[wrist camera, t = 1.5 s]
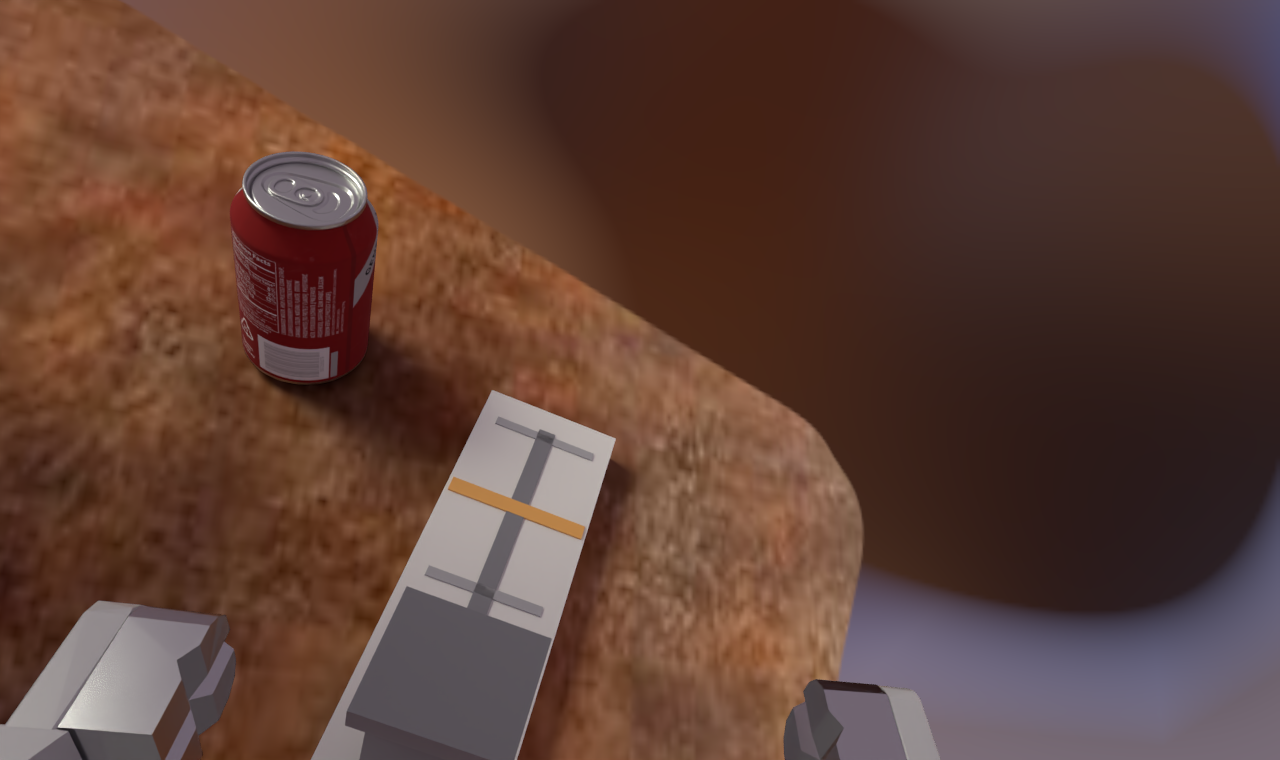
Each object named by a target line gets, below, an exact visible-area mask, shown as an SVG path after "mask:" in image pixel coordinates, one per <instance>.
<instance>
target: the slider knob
mask: <svg viewBox="0 0 1280 760" xmlns="http://www.w3.org/2000/svg"><path fill="white" fill-rule="evenodd" d="M551 640H552V639H551V638H549V637H546V636H543V635H540V634H538V633H535V632H532V631H529V630H527V629H524V628H521V627H518V626H516V625H513V624H510V623H507V622H504V621H502V620H499V619H496V618H493V617H491V616H488V615H485V614H482V613H480V612H477V611H474V610H471V609H469V608H466V607H463V606H460V605H458V604H455V603H452V602H449V601H446V600H444V599H441V598H438V597H435V596H433V595H430V594H427V593H424V592H422V591H419V590H416V589H413V588H411V587H408V586H406V588H405V591H404V593H403V595H402V597H401V599H400V601H399V603H398V605H397V607H396V609H395V611H394V613H393V616H392V618H391V620H390V622H389V624H388V626H387V628H386V630H385V632H384V634H383V636H382V638H381V641H380V643H379V645H378V647H377V649H376V651H375V653H374V655H373V657H372V659H371V661H370V663H369V666H368V668H367V670H366V672H365V674H364V676H363V678H362V680H361V682H360V684H359V686H358V688H357V691H356V693H355V695H354V697H353V699H352V701H351V703H350V705H349V707H348V709H347V713H346V721H345V726H348V727H351V728H354V729H357V730H359V731H362V732H365V734H364V739H363V744H362V749H361V754H360V759H359V760H514V759H515V756H516V753H517V750H518V746H519V743H520V740H521V737H522V733H523V730H524V727H525V724H526V721H527V717H528V714H529V711H530V708H531V704H532V701H533V698H534V695H535V691H536V688H537V685H538V682H539V679H540V675H541V672H542V669H543V666H544V662H545V659H546V656H547V653H548V650H549V646H550V643H551Z"/></svg>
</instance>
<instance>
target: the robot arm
mask: <svg viewBox="0 0 1280 760" xmlns="http://www.w3.org/2000/svg"><path fill="white" fill-rule="evenodd" d="M229 631H230V628H229V625H228V621H227V617H226V615H221V614H212V613H203V612H194V611H184V610H175V609H166V608H157V607H148V606H144V605H137V604H127V603H117V602H107V601H97V602H96V603H95V604H94V605H92V606H91V607H90V608H89V609H88V610H87V611H85V612H84V613H83V614H82V616H81V617H80V619H79V620H78V621H77V623H76V624H75V626H74V627H73V629H72V630H71V631H70V633H69V634H68V636H67V637H66V639H65V640H64V641H63V643H62V644H61V646H60V647H59V649H58V650H57V651H56V653H55V654H54V656H53V657H52V658H51V660H50V661H49V663H48V664H47V666H46V667H45V668H44V670H43V671H42V673H41V674H40V676H39V677H38V678H37V680H36V681H35V683H34V684H33V686H32V687H31V688H30V690H29V691H28V693H27V694H26V696H25V697H24V698H23V700H22V701H21V703H20V704H19V705H18V707H17V708H16V710H15V711H14V713H13V714H12V715H11V717H10V718H9V720H8V721H7V723H6V724H0V760H201V757H202V755H203V752H202V748H201V744H200V740H199V735H200V734H201V733H203V732H204V731H205V730H206V729H208V728H209V727H210V726H212V725H213V724H214V723H216V722H217V721H218V720H219V718H220V716H221V714H222V712H223V709H224V707H225V705H226V703H227V700H228V698H229V694H230V691H231V687H232V684H233V680H234V677H235V666H236V658H235V652H234V649H233V648H232V647H230V646H229V645H228V644H227V643H225V642H224V641H225V639H226V637H227V635H228V633H229ZM803 692H804V697H805V702H804V703H802V704H800V705H797V706H795V707H793V709H792V711H791V713H790V715H789V717H788V718H787V720H786V726H785V733H784V757H785V760H941V758H940V755H939V752H938V750H937V747H936V744H935V741H934V738H933V735H932V732H931V729H930V726H929V723H928V721H927V717H926V715H925V712H924V709H923V706H922V703H921V700H920V698H919V697H918V696H917V694H916V693H915V692H914V691H912V690H910V689H907V688H897V687H887V686H878V685H874V684H862V683H850V682H840V681H829V680H818V679H816V680H813V681H810V682H809V683H808V685H807V686H806V688H805V690H804V691H803Z"/></svg>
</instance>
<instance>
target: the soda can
mask: <svg viewBox="0 0 1280 760" xmlns="http://www.w3.org/2000/svg"><path fill="white" fill-rule="evenodd" d="M230 221H231V231H232V241H233V251H234V261H235V271H236V281H237V291H238V301H239V311H240V321H241V331H242V341H243V347H244V351H245V353H246V355H247V357H248V358H249V360H250V361H251V362H252V364H253V365H254V366H255V367H256V368H257V369H259V370H260V371H261V372H263V373H265V374H266V375H268V376H270V377H272V378H274V379H277V380H280V381H283V382H287V383H292V384H300V385H314V384H322V383H327V382H330V381H334V380H336V379H339V378H341V377H343V376H345V375H347V374H348V373H350V372H351V371H353V370H354V369H355V368H356V367H357V366H358V365H359V364H360V362H361V361H362V360H363V358H364V356H365V354H366V351H367V347H368V336H369V325H370V314H371V302H372V291H373V280H374V269H375V257H376V246H377V235H378V219H377V215H376V212H375V210H374V208H373V206H372V204H371V203H370V202H369V200H368V199H367V189H366V186H365V184H364V182H363V180H362V179H361V178H360V177H359V175H358V174H357V173H356V172H355V171H353V170H352V169H351V168H349V167H348V166H346V165H345V164H343V163H341V162H339V161H337V160H335V159H332V158H329V157H326V156H323V155H319V154H314V153H307V152H283V153H276V154H272V155H269V156H266V157H263V158H261V159H259V160H257V161H256V162H254V163H253V164H252V165H251V166H250V167H249V168H248V169H247V170H246V172H245V174H244V177H243V182H242V188H241V189H240V190H239V191H238V192H237V194H236V195H235V197H234V199H233V201H232V204H231V207H230Z"/></svg>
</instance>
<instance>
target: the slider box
mask: <svg viewBox="0 0 1280 760" xmlns="http://www.w3.org/2000/svg"><path fill="white" fill-rule="evenodd" d="M615 440H616V438H613V437H610V436H608V435H605V434H603V433H600V432H598V431H595V430H593V429H590V428H588V427H585V426H583V425H580V424H577V423H575V422H572V421H570V420H567V419H565V418H562V417H560V416H557V415H555V414H552V413H550V412H547V411H544V410H542V409H539V408H537V407H534V406H532V405H529V404H527V403H524V402H522V401H519V400H517V399H514V398H511V397H509V396H506V395H504V394H501V393H499V392H496V391H494V390H492V392H491V394H490V396H489V398H488V400H487V402H486V404H485V406H484V408H483V410H482V412H481V414H480V416H479V418H478V420H477V422H476V424H475V426H474V428H473V430H472V432H471V434H470V436H469V438H468V440H467V443H466V445H465V447H464V449H463V451H462V453H461V455H460V457H459V459H458V461H457V463H456V465H455V467H454V469H453V471H452V473H451V475H450V477H449V479H448V481H447V483H446V485H445V487H444V489H443V491H442V493H441V495H440V498H439V500H438V502H437V504H436V506H435V508H434V510H433V512H432V514H431V516H430V518H429V520H428V522H427V524H426V526H425V528H424V530H423V532H422V534H421V536H420V538H419V540H418V542H417V544H416V546H415V548H414V551H413V553H412V555H411V557H410V559H409V561H408V563H407V565H406V567H405V569H404V571H403V573H402V575H401V577H400V579H399V581H398V583H397V585H396V587H395V589H394V591H393V593H392V595H391V597H390V599H389V601H388V603H387V606H386V608H385V610H384V612H383V614H382V616H381V618H380V620H379V622H378V624H377V626H376V628H375V630H374V632H373V634H372V636H371V638H370V640H369V642H368V644H367V646H366V648H365V650H364V652H363V654H362V656H361V658H360V661H359V663H358V665H357V667H356V669H355V671H354V673H353V675H352V677H351V679H350V681H349V683H348V685H347V687H346V689H345V691H344V693H343V695H342V697H341V699H340V701H339V703H338V705H337V707H336V709H335V711H334V714H333V716H332V718H331V720H330V722H329V724H328V726H327V728H326V730H325V732H324V734H323V736H322V738H321V740H320V742H319V744H318V746H317V748H316V750H315V752H314V754H313V756H312V758H311V760H359V759H360V754H361V749H362V744H363V739H364V734H365V732H362V731H359V730H357V729H354V728H351V727H348V726H345V721H346V713H347V709H348V707H349V705H350V703H351V701H352V699H353V697H354V695H355V693H356V691H357V688H358V686H359V684H360V682H361V680H362V678H363V676H364V674H365V672H366V670H367V668H368V666H369V663H370V661H371V659H372V657H373V655H374V653H375V651H376V649H377V647H378V645H379V643H380V641H381V638H382V636H383V634H384V632H385V630H386V628H387V626H388V624H389V622H390V620H391V618H392V616H393V613H394V611H395V609H396V607H397V605H398V603H399V601H400V599H401V597H402V595H403V593H404V591H405V588H406V586H408V587H411V588H413V589H416V590H419V591H422V592H424V593H427V594H430V595H433V596H435V597H438V598H441V599H444V600H446V601H449V602H452V603H455V604H458V605H460V606H463V607H466V608H469V609H471V610H474V611H477V612H480V613H482V614H485V615H488V616H491V617H493V618H496V619H499V620H502V621H504V622H507V623H510V624H513V625H516V626H518V627H521V628H524V629H527V630H529V631H532V632H535V633H538V634H540V635H543V636H546V637H549V638H551V639H552V640H551V643H550V646H549V650H548V653H547V656H546V659H545V662H544V666H543V669H542V672H541V675H540V679H539V682H538V685H537V688H536V691H535V695H534V698H533V701H532V704H531V708H530V711H529V714H528V717H527V721H526V724H525V727H524V730H523V733H522V737H521V740H520V743H519V746H518V750H517V753H516V756H515V759H514V760H517V758H518V755H519V752H520V748H521V745H522V742H523V739H524V735H525V732H526V729H527V726H528V722H529V719H530V716H531V713H532V709H533V706H534V703H535V700H536V696H537V693H538V690H539V687H540V683H541V680H542V677H543V674H544V670H545V667H546V664H547V661H548V657H549V654H550V651H551V648H552V644H553V641H554V638H555V635H556V631H557V628H558V625H559V622H560V618H561V615H562V612H563V609H564V605H565V602H566V599H567V596H568V592H569V589H570V586H571V583H572V579H573V576H574V573H575V570H576V566H577V563H578V560H579V557H580V553H581V550H582V547H583V544H584V540H585V537H586V534H587V531H588V527H589V524H590V521H591V518H592V514H593V511H594V508H595V505H596V501H597V498H598V495H599V492H600V488H601V485H602V482H603V479H604V475H605V472H606V469H607V466H608V462H609V459H610V456H611V453H612V449H613V446H614V443H615Z"/></svg>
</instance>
